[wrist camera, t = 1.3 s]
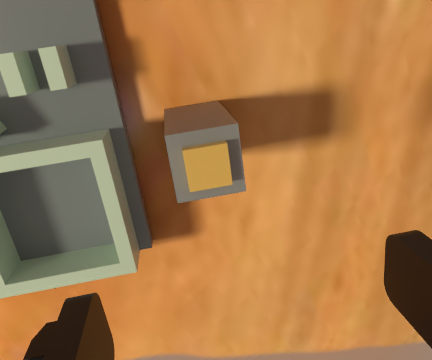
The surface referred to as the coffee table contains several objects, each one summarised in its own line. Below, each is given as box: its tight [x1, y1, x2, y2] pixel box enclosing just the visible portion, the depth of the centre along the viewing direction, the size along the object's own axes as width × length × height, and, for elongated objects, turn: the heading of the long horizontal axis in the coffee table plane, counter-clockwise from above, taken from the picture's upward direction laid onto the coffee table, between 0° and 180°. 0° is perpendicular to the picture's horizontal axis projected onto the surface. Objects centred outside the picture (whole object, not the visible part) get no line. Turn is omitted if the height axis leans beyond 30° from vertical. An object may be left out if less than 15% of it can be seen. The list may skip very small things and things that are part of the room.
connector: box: [164, 101, 246, 203], centre depth 24 cm, size 4×4×9 cm
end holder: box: [0, 129, 140, 298], centre depth 26 cm, size 10×10×3 cm
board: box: [0, 0, 153, 261], centre depth 25 cm, size 12×19×4 cm, turn 9°
